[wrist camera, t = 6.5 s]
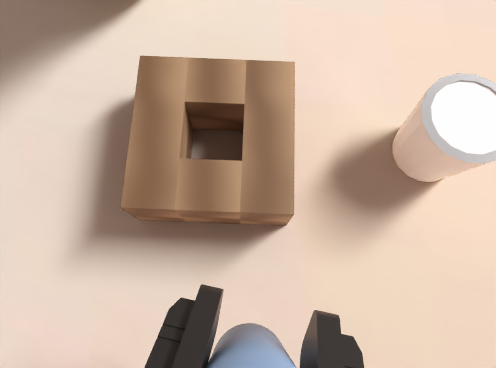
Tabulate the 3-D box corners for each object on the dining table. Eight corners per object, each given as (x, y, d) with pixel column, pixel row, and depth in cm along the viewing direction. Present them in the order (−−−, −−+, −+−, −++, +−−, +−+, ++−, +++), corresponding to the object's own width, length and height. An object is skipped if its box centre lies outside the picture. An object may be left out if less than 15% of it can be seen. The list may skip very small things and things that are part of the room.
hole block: (287, 93, 34) (294, 62, 29) (285, 225, 31) (293, 214, 26) (154, 88, 34) (140, 55, 29) (139, 219, 31) (120, 207, 26)
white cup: (369, 137, 33) (402, 98, 26) (432, 102, 34) (479, 56, 27) (415, 203, 31) (463, 181, 24) (479, 165, 32) (542, 133, 25)
